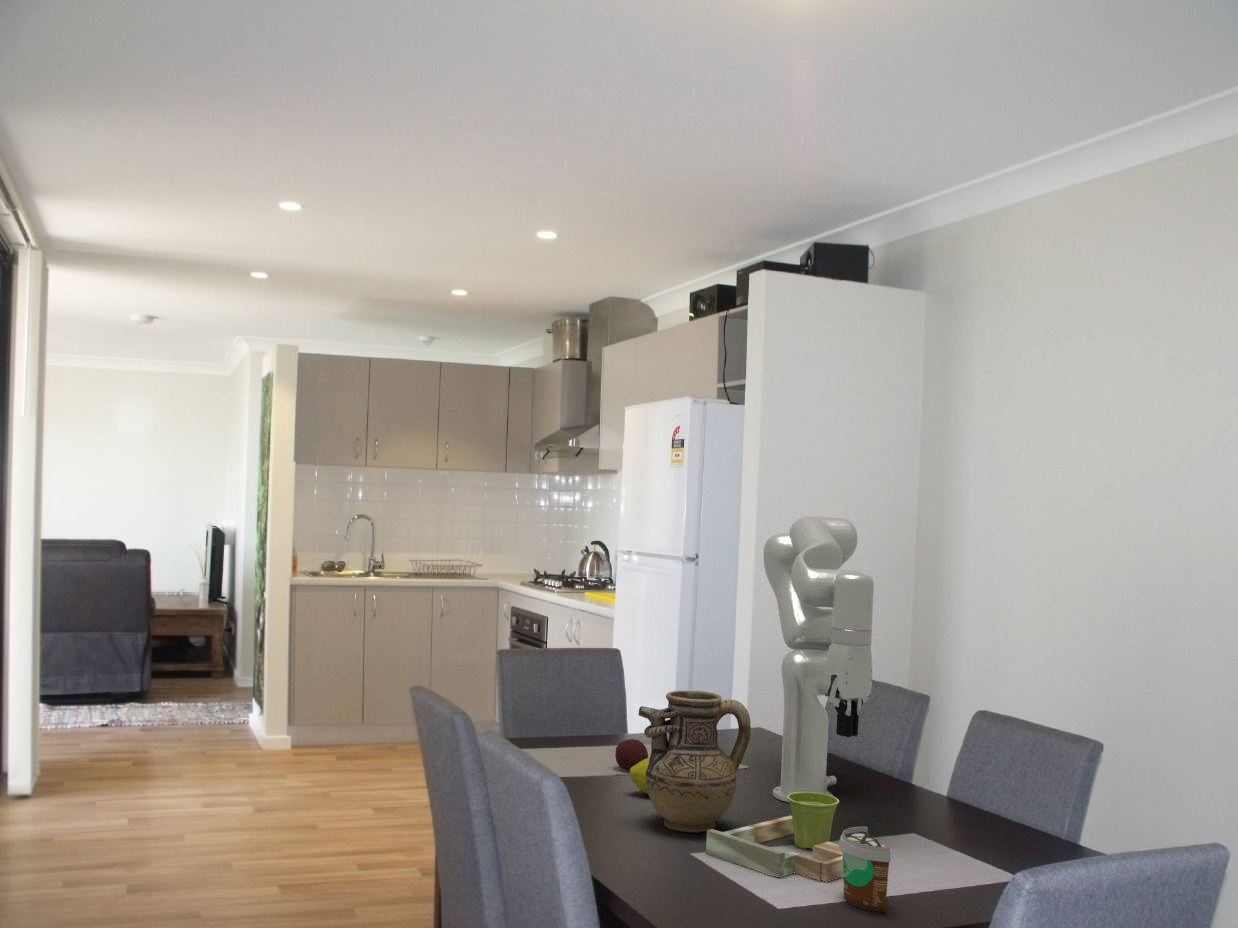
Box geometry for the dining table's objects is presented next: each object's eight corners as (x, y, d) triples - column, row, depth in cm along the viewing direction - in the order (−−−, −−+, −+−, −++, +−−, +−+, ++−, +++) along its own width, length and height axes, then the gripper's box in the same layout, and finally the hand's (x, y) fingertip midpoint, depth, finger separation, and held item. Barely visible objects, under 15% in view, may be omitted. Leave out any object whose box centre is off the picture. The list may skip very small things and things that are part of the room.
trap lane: (797, 829, 216) (798, 808, 216) (897, 858, 200) (898, 836, 200) (705, 853, 197) (706, 830, 197) (807, 888, 181) (808, 863, 182)
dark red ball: (609, 767, 259) (610, 736, 260) (639, 765, 263) (641, 735, 263) (622, 774, 253) (624, 743, 253) (653, 772, 256) (655, 741, 256)
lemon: (679, 792, 239) (681, 754, 240) (680, 801, 231) (682, 762, 232) (629, 789, 240) (631, 751, 240) (628, 798, 232) (630, 759, 232)
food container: (827, 886, 183) (829, 824, 183) (863, 887, 184) (866, 825, 184) (848, 913, 171) (851, 847, 171) (888, 914, 171) (891, 848, 172)
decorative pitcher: (740, 816, 223) (746, 690, 224) (752, 843, 205) (758, 705, 206) (631, 811, 222) (638, 684, 223) (633, 837, 205) (640, 699, 206)
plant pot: (806, 855, 199) (808, 806, 199) (774, 840, 207) (777, 793, 208) (847, 850, 203) (849, 802, 204) (815, 836, 212) (817, 789, 212)
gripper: (857, 634, 222) (853, 727, 221) (810, 637, 211) (806, 735, 210) (890, 638, 217) (886, 734, 216) (844, 642, 206) (839, 743, 205)
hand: (847, 734), depth 213 cm, fingers closed
